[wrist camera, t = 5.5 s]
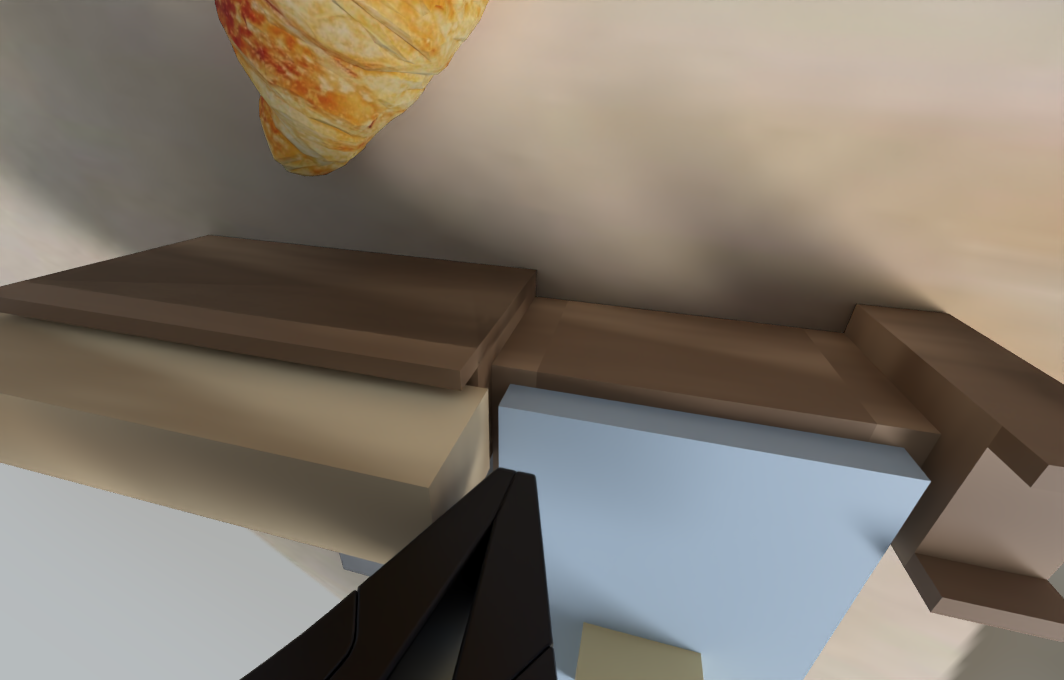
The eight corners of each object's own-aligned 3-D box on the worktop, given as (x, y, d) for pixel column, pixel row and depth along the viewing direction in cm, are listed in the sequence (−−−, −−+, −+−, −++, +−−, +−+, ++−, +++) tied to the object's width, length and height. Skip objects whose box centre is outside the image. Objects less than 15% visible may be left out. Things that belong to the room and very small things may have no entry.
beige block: (489, 467, 11) (395, 674, 7) (46, 377, 13) (-206, 482, 9) (487, 389, 9) (374, 579, 5) (6, 308, 12) (-298, 394, 8)
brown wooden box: (774, 637, 20) (830, 858, 14) (299, 517, 25) (190, 641, 19) (948, 313, 12) (1244, 496, 6) (208, 235, 17) (-26, 293, 11)
